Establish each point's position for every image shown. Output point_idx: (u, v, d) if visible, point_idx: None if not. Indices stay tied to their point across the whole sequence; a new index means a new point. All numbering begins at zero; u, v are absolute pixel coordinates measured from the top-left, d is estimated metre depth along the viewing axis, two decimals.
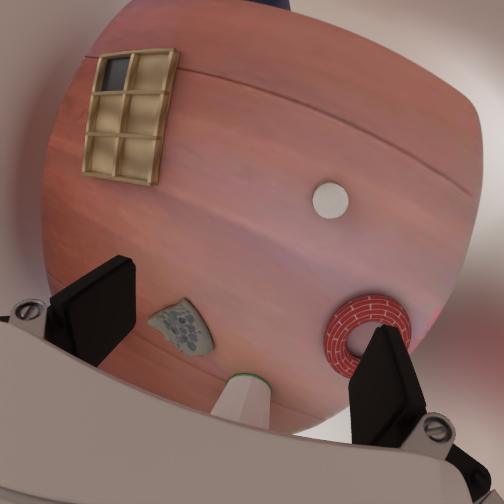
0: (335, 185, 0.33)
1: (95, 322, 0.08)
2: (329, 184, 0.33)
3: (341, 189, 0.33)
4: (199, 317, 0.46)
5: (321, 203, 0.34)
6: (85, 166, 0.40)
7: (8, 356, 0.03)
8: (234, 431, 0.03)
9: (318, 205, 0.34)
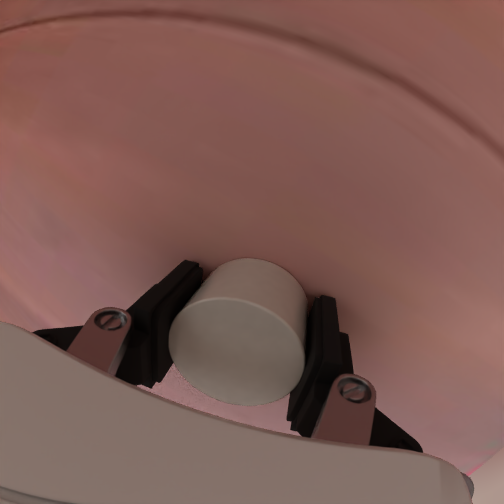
0: (247, 308, 0.08)
1: None
2: (221, 302, 0.08)
3: (275, 324, 0.08)
4: None
5: (201, 363, 0.09)
6: None
7: (9, 356, 0.03)
8: (234, 431, 0.03)
9: (191, 367, 0.09)
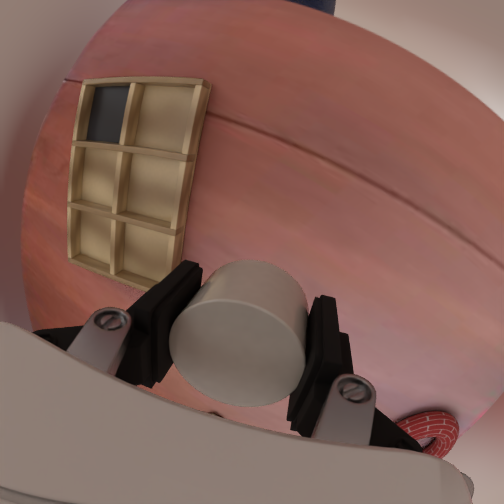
0: (248, 310, 0.08)
1: None
2: (222, 304, 0.08)
3: (275, 326, 0.08)
4: None
5: (201, 365, 0.09)
6: (71, 250, 0.28)
7: (8, 357, 0.03)
8: (234, 431, 0.03)
9: (192, 369, 0.09)
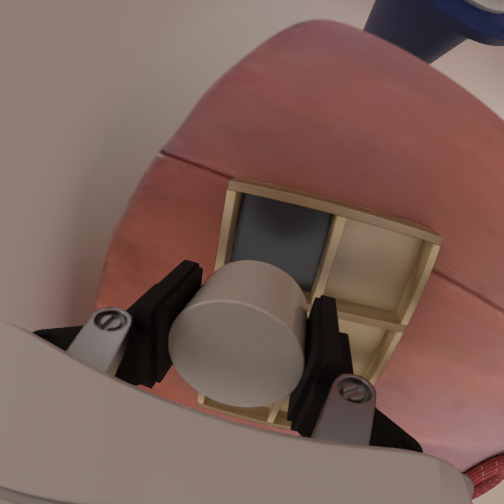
0: (247, 310, 0.08)
1: None
2: (221, 305, 0.08)
3: (274, 326, 0.08)
4: None
5: (201, 365, 0.09)
6: (204, 396, 0.24)
7: (8, 356, 0.03)
8: (234, 431, 0.03)
9: (191, 369, 0.09)
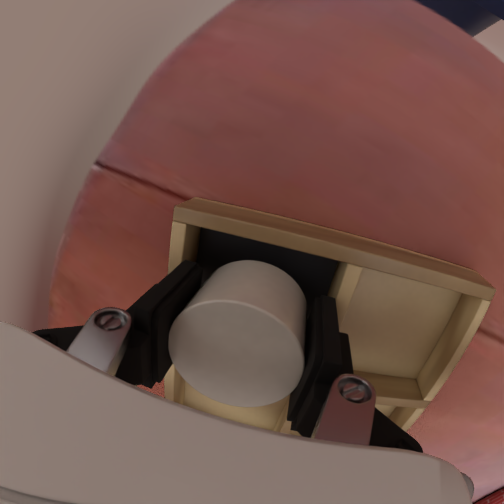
0: (247, 310, 0.08)
1: None
2: (221, 305, 0.08)
3: (274, 326, 0.08)
4: None
5: (201, 365, 0.09)
6: None
7: (8, 357, 0.03)
8: (234, 431, 0.03)
9: (191, 369, 0.09)
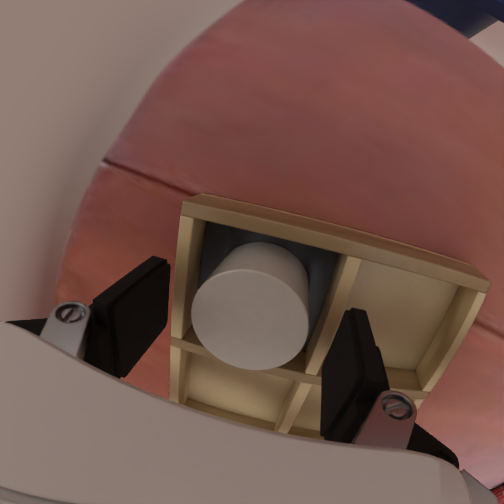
0: (261, 278, 0.10)
1: (135, 322, 0.09)
2: (240, 274, 0.10)
3: (283, 291, 0.10)
4: None
5: (219, 331, 0.11)
6: None
7: (8, 356, 0.03)
8: (234, 431, 0.03)
9: (211, 334, 0.11)
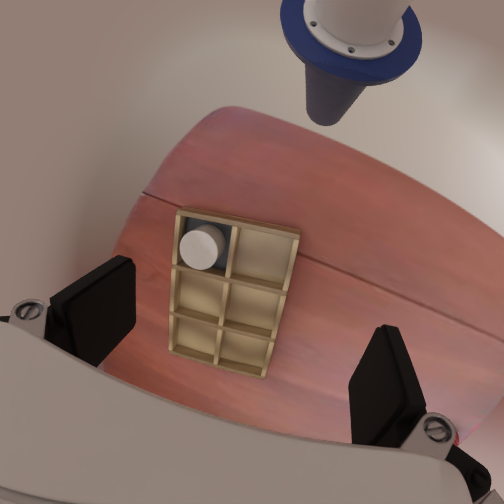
0: (201, 232, 0.30)
1: (95, 322, 0.08)
2: (194, 232, 0.30)
3: (208, 237, 0.30)
4: None
5: (189, 253, 0.31)
6: (173, 345, 0.38)
7: (8, 357, 0.03)
8: (234, 431, 0.03)
9: (186, 255, 0.31)
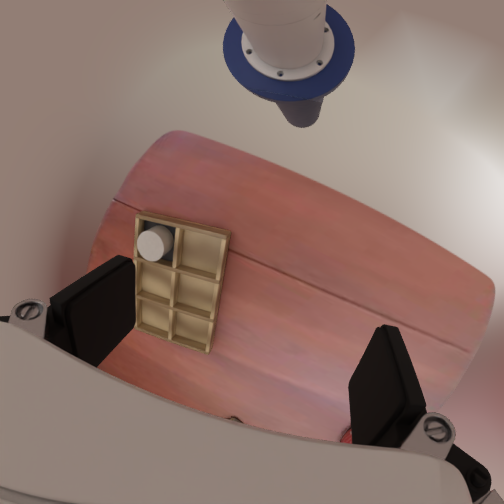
0: (151, 232, 0.38)
1: (95, 322, 0.08)
2: (147, 232, 0.38)
3: (156, 236, 0.38)
4: None
5: (143, 248, 0.39)
6: (137, 322, 0.46)
7: (9, 356, 0.03)
8: (234, 431, 0.03)
9: (141, 249, 0.39)
